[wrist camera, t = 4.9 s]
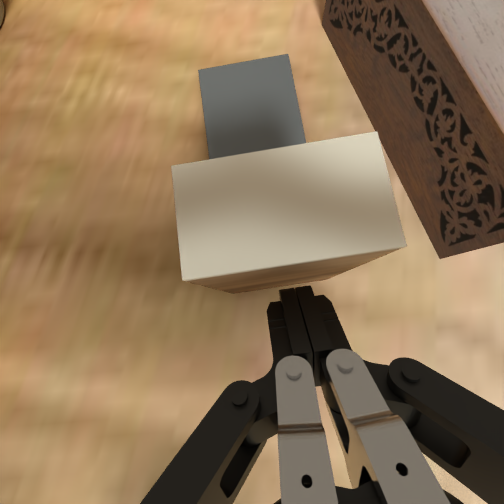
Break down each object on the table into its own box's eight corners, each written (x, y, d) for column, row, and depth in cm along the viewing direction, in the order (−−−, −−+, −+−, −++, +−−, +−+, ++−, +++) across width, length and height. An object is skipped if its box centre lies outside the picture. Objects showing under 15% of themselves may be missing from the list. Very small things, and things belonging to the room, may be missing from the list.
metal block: (326, 279, 23) (406, 245, 10) (233, 293, 24) (182, 280, 10) (316, 228, 24) (377, 131, 10) (226, 242, 24) (171, 165, 11)
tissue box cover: (321, 27, 28) (348, -120, 18) (452, -21, 28) (549, -192, 19) (438, 259, 23) (560, 227, 14) (597, 201, 23) (834, 127, 14)
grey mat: (318, 208, 24) (319, 207, 24) (218, 224, 25) (217, 223, 24) (287, 58, 27) (288, 53, 27) (199, 74, 28) (198, 69, 27)
